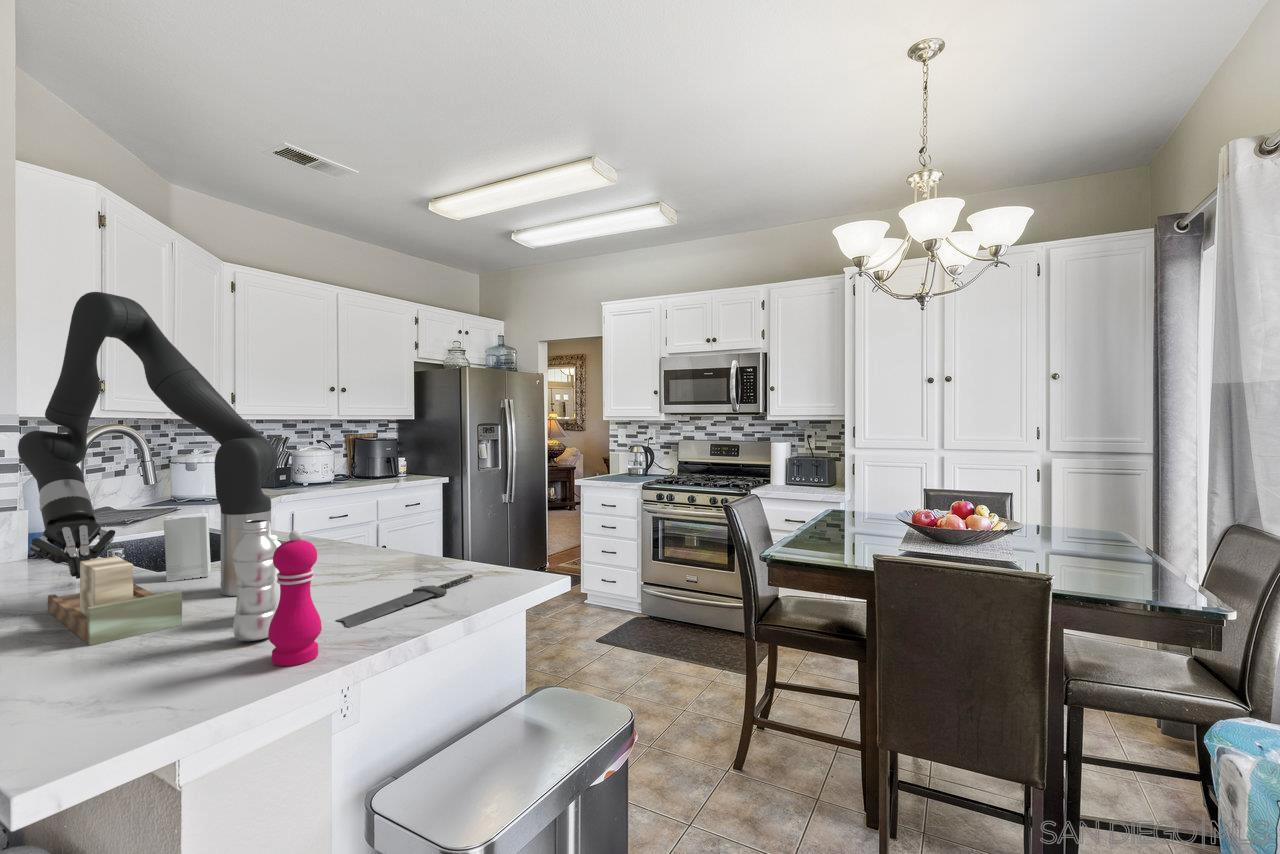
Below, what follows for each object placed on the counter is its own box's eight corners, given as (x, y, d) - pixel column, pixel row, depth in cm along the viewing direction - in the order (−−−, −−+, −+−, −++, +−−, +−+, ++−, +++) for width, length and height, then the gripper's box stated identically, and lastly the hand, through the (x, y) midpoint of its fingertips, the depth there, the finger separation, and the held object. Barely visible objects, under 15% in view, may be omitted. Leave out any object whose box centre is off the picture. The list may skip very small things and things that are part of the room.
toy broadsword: (324, 628, 110) (324, 617, 110) (459, 578, 141) (459, 570, 141) (351, 634, 107) (351, 622, 107) (483, 581, 138) (483, 573, 138)
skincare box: (210, 572, 146) (210, 511, 146) (208, 578, 141) (208, 515, 141) (167, 577, 142) (167, 514, 142) (163, 582, 136) (163, 517, 136)
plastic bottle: (288, 634, 103) (288, 519, 103) (251, 648, 97) (251, 525, 97) (260, 630, 106) (260, 517, 105) (222, 643, 99) (222, 523, 99)
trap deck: (47, 610, 116) (47, 580, 116) (130, 595, 126) (130, 567, 126) (90, 645, 98) (90, 609, 98) (182, 625, 108) (182, 591, 108)
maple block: (80, 614, 106) (80, 561, 106) (116, 607, 110) (116, 556, 110) (95, 626, 100) (95, 570, 100) (133, 618, 104) (133, 564, 104)
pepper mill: (282, 650, 96) (283, 526, 96) (329, 649, 97) (329, 526, 97) (258, 668, 89) (258, 534, 89) (308, 667, 90) (308, 534, 90)
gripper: (23, 498, 116) (37, 570, 109) (112, 492, 127) (130, 557, 119) (18, 522, 119) (31, 594, 112) (105, 514, 130) (122, 580, 123)
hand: (82, 575), depth 116 cm, fingers closed
